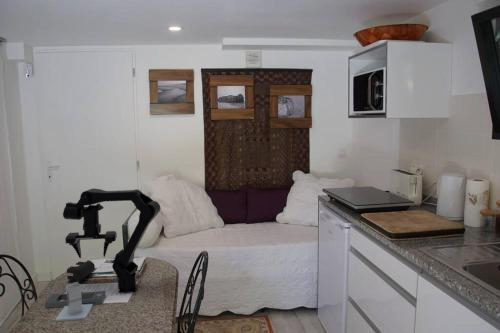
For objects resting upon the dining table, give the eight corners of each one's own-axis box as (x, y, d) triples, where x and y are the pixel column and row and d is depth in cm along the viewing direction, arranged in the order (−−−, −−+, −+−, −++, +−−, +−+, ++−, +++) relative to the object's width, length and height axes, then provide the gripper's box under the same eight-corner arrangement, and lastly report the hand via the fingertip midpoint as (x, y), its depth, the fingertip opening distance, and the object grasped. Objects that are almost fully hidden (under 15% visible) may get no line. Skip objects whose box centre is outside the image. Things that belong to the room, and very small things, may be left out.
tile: (93, 305, 145) (92, 303, 145) (85, 319, 135) (85, 317, 135) (64, 307, 144) (64, 305, 143) (55, 321, 134) (55, 319, 134)
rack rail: (105, 295, 153) (105, 290, 152) (101, 304, 146) (101, 298, 146) (52, 299, 150) (51, 294, 150) (45, 308, 143) (44, 302, 143)
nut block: (79, 307, 142) (77, 281, 141) (82, 311, 139) (80, 285, 138) (67, 310, 140) (65, 284, 138) (70, 315, 136) (68, 288, 135)
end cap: (81, 284, 163) (80, 269, 162) (66, 283, 165) (65, 268, 164) (95, 274, 173) (94, 260, 172) (81, 273, 174) (80, 259, 174)
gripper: (118, 214, 166) (118, 249, 168) (71, 215, 162) (72, 251, 164) (114, 221, 155) (115, 258, 157) (64, 223, 151) (65, 261, 153)
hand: (92, 257), depth 158 cm, fingers open, 9 cm apart
